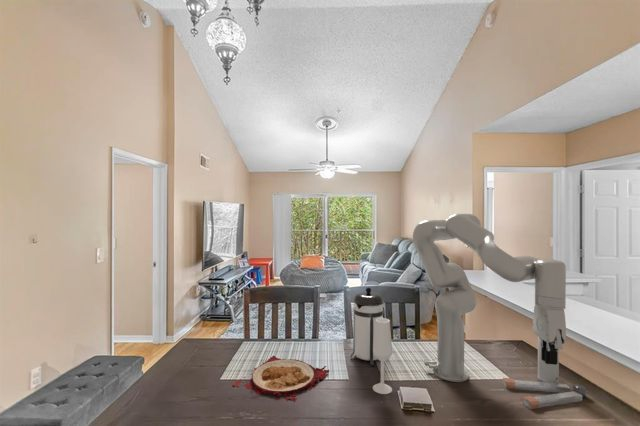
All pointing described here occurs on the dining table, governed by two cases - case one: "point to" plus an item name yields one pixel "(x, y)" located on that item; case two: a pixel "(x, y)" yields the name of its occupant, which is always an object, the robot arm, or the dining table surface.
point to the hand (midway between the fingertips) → (549, 362)
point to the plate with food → (284, 377)
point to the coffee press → (366, 324)
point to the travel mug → (547, 368)
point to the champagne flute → (382, 350)
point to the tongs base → (542, 386)
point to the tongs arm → (551, 399)
